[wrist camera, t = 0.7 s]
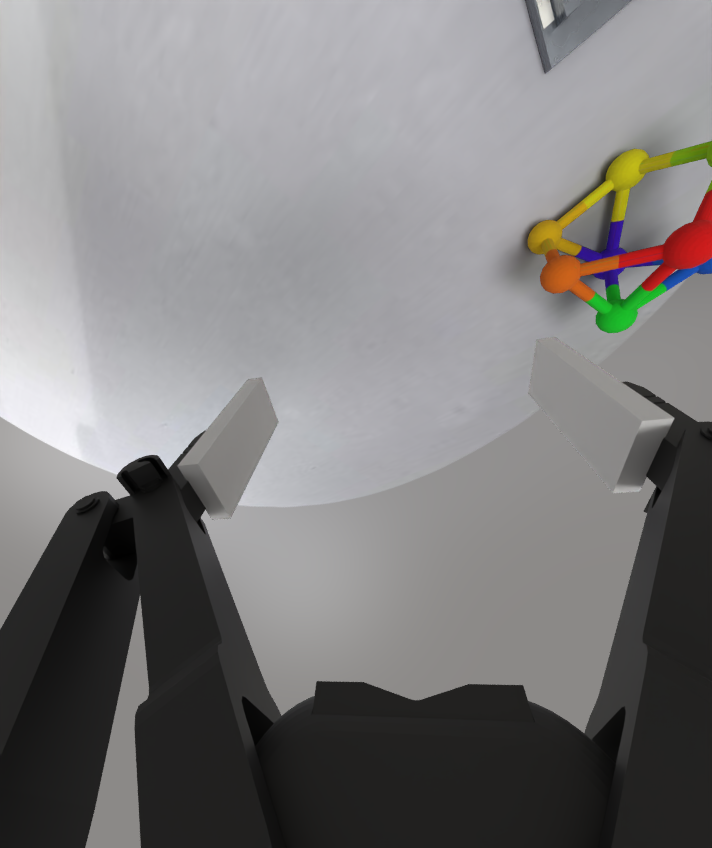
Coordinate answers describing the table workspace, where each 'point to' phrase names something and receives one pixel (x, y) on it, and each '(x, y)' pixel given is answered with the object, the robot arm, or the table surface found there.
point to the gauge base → (567, 24)
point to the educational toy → (684, 249)
